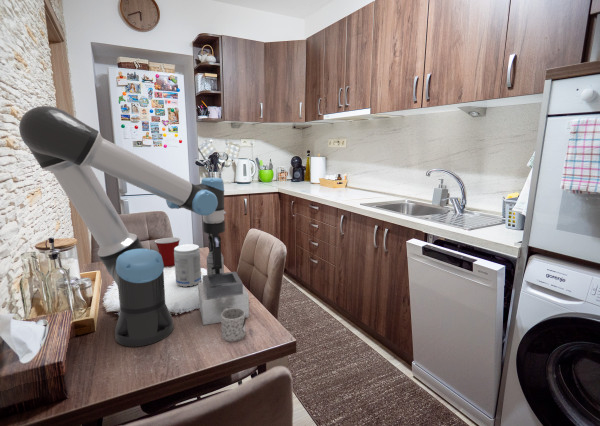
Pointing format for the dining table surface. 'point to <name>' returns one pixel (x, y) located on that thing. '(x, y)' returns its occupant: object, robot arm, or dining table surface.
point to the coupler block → (221, 296)
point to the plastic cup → (167, 249)
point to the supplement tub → (187, 265)
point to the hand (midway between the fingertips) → (215, 280)
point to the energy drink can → (210, 263)
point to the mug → (233, 324)
